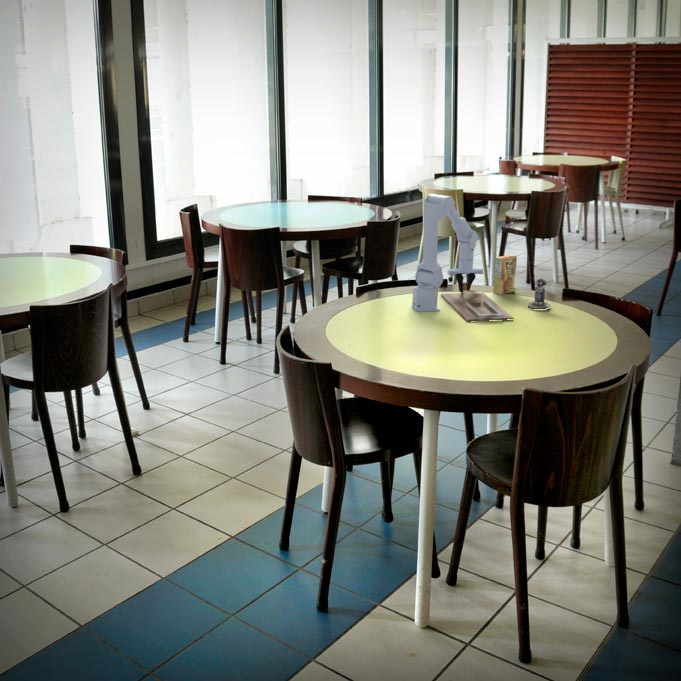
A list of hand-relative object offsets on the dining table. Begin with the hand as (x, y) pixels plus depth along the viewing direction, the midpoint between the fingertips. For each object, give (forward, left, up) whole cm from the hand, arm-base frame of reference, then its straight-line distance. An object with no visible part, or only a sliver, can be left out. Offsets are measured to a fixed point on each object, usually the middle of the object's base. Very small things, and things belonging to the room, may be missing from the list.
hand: (464, 291), depth 345 cm
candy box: (+19, +5, -3) cm, 20 cm away
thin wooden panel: (0, -16, -2) cm, 16 cm away
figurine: (+25, -19, -3) cm, 31 cm away
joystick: (0, -6, -1) cm, 6 cm away
